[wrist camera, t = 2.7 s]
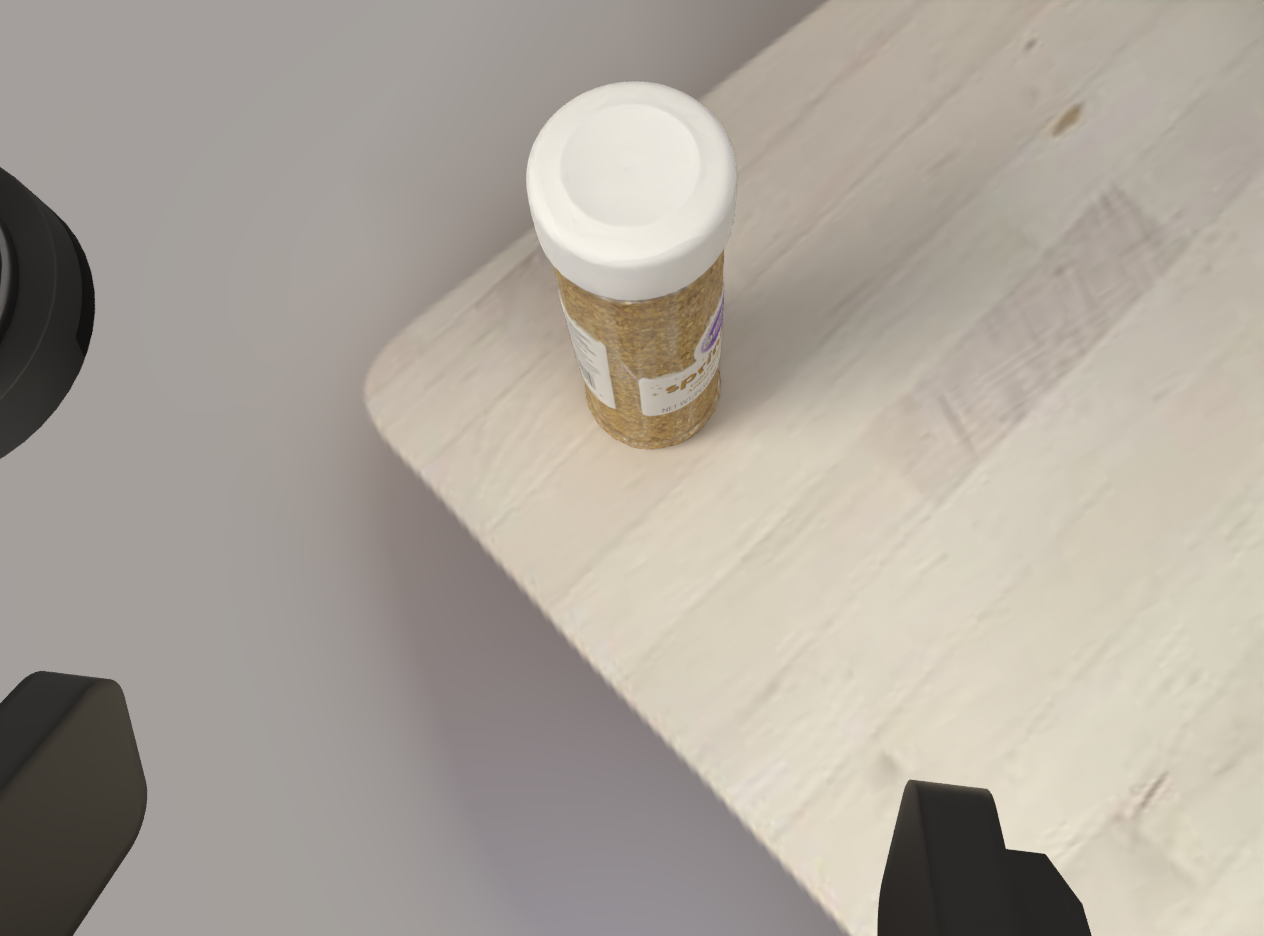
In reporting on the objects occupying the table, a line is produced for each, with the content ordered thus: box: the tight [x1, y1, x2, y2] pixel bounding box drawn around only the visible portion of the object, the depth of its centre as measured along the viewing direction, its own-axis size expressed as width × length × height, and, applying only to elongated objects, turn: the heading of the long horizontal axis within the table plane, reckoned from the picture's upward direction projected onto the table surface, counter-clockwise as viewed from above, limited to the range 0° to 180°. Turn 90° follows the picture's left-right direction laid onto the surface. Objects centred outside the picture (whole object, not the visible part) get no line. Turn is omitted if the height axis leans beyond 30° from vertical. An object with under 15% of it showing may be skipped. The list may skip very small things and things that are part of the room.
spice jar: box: [526, 81, 737, 449], centre depth 29 cm, size 5×5×13 cm
